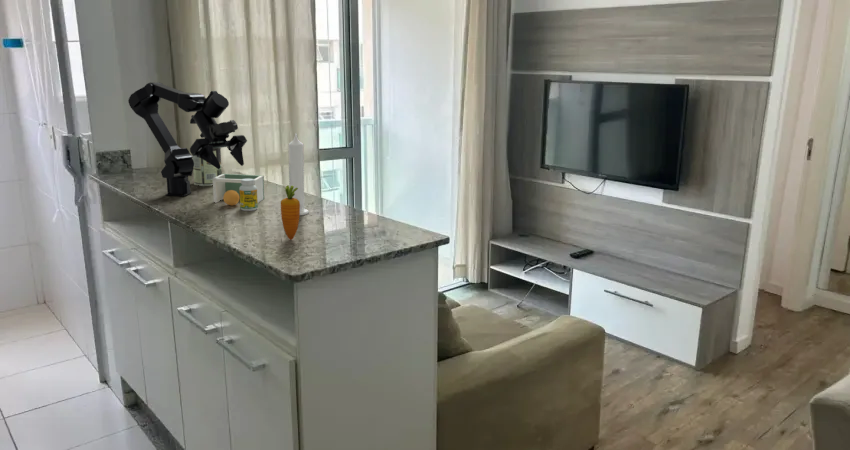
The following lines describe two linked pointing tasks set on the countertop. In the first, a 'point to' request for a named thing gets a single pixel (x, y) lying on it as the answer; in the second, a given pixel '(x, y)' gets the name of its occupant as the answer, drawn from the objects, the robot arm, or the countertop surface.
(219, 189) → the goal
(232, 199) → the ball
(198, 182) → the coffee can
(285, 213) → the carrot
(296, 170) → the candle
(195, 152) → the robot arm
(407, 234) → the countertop surface
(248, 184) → the supplement bottle
